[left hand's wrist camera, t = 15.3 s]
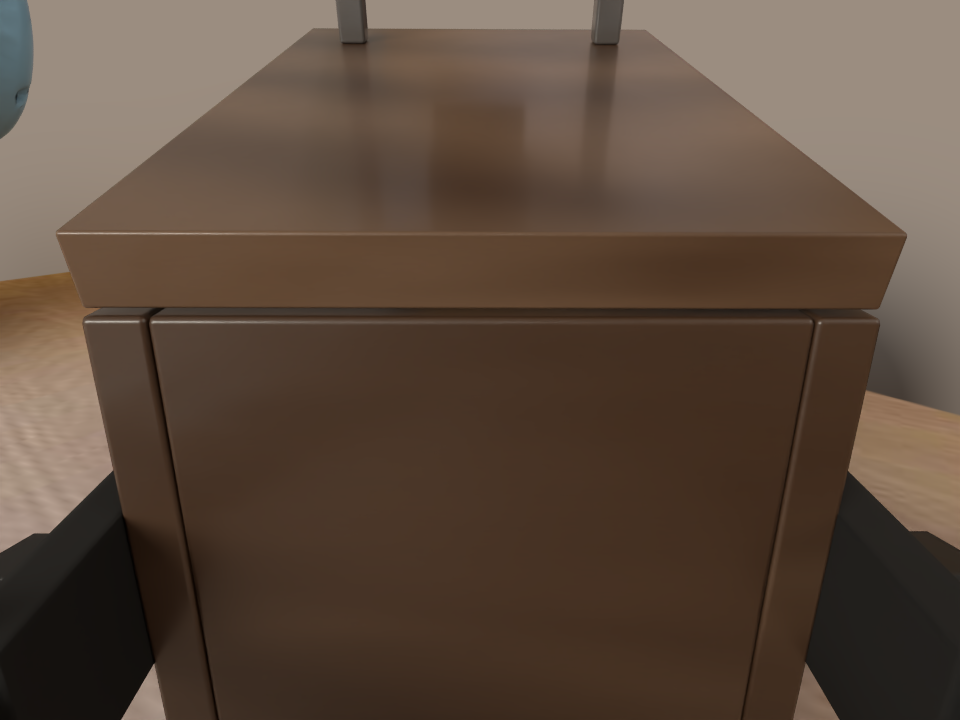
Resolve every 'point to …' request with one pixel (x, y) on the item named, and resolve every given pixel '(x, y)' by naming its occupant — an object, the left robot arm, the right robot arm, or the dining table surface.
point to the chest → (480, 505)
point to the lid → (480, 186)
